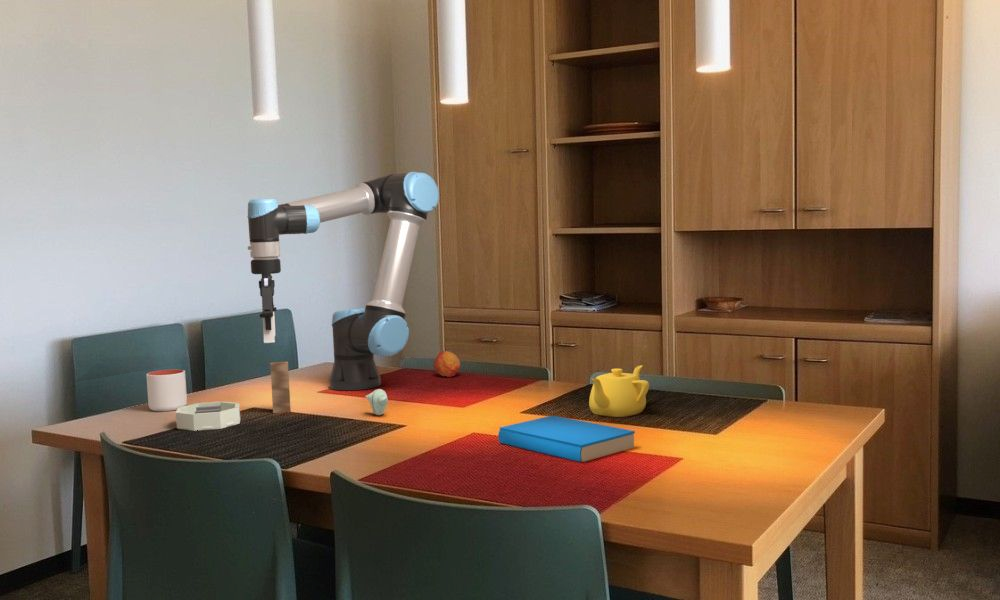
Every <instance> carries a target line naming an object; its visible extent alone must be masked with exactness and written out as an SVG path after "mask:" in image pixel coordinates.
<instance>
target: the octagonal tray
mask: <svg viewBox="0 0 1000 600" xmlns="http://www.w3.org/2000/svg"><path fill="white" fill-rule="evenodd" d="M175 418H176V421H175V422H176V429H178V430H184V431H194V432H196V431H197V430H198V431H209V430H211V431H212V430H220V429H224V428H229V427H232V426H233V427H234V426H235V425H238V424H240V423H241V408H240V402H234V401H233V402H231V401H220V400H219V401H209V402H207V401H206V402H196V403H191V404H189V405H186V406H183V407H179V408H178V409H177V410H175ZM198 431H197V432H198Z"/></svg>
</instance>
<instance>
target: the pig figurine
mask: <svg viewBox="0 0 1000 600" xmlns="http://www.w3.org/2000/svg"><path fill="white" fill-rule="evenodd" d="M365 398H366V399H367V400H368V402H369V404H370V408H371V410H372V412H373V413H374V414H375V415H376V416H381V415H383V413H384V412H385V410H386V408H387V405H388V402H389V400H388V395H387V393H386V391H385V390H384V389H382V388H378V389H375V390H373V391H372V392H371V393H369V394H367V395H365Z"/></svg>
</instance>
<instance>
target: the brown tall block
mask: <svg viewBox="0 0 1000 600" xmlns="http://www.w3.org/2000/svg"><path fill="white" fill-rule="evenodd" d="M269 364H270V367H269V368H270V379H271V382H270V383H271V398H272V399H271V400H272V414H281V413H291V392H290V391H291V390H290V374H289V362H288V361H277V362H270V363H269Z"/></svg>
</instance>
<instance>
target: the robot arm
mask: <svg viewBox="0 0 1000 600" xmlns="http://www.w3.org/2000/svg"><path fill="white" fill-rule="evenodd" d="M439 200H440V191H439V188H438V185H437V184H436V181H435V180H434V179H433V177H432V176H431V175H429V174H427V173H425V172H417V171H410V172H405V173H404V172H403V173H402V172H401V173H391V174H386V175H383V176H380V177H377V178H374V179H371V180H368V181H364V182H359V183H358V184H356V185H355V187H353V188H348V189H344V190H340V191H335V192H331V193H325V194H321V195H317V196H316V195H315V196H313V197H308V198H304V199H299V200H298V199H297V200H293V201H291V202H285V203H281V204H278V201H277V199H275V198H254V199H253V198H252V199H250V200H249V201H248V203H247V219H248V234H249V245H248V246H247V250H248V251H250V254H249V255H250V257H251V258H252V259H251V261H250V270H251V271H250V272H251V274H253V275H261V278H260V280H258V288H259V291H260V292H259V295H260V296H261V305H262V306H261V307H262V309H261V310H262V312H261V313H259V318H260V319H261V318H262V332H263V343H264V344H271V343H275V342H276V339H275V337H276V322H275V321H276V320H275V317H276V316H275V312H277V307H276V306H275V304H274V298H273V297H274V295H275V279H273V276H272V275H273V274H274V275H275V274H280V273H281V271H282V269H281V267H282V266H281V260H280V258H279V257H280V256H281V249H280V248H281V245H280V235H303V234H305V235H307V234H313V233H316V232H317V231H318V230H319V228H320V224H321V223H324V222H329V221H333V220H337V219H341V218H346V217H350V216H354V215H358V214H363V215H365V216H368V215H372V214H373V215H374V214H386V215H387V216H388V218H389V219H390V221H389V227H388V231H387V235H386V239H385V244H384V248H383V253H382V256H381V261H380V265H379V269H378V270H379V271H378V274H377V278H376V283H375V288H374V291H373V296H372V300H371V301H369V302H367V303H366V305H365V307H361V308H354V309H353V308H352V309H345V310H338V311H335V312H334V313H333V314H332V319H331V326H332V340H333V341H332V342H333V357H334V358H333V361H334V362H333V366H332V368H331V369H332V370H331V373H330V377H329V382H328V383H329V389H332V390H334V391H335V390H336V391H361V390H367V389H369V390H370V389H373V388H378V387H380V386H381V385H382V381H381V380H382V379H381V374H380V373H379V370H378V367H377V363H376V362H375V358H374V356H377V357H392V356H394V355H397V354H398V353H400V352H401V351H402V350H403V349H404V348H405V347H406V345H407V343H408V340H409V337H410V328H409V326H408V322H407V321H406V320H405V319H406V311H405V310H404V308H403V303H404V298H405V293H406V289H407V285H408V280H409V275H410V272H411V267H412V262H413V257H414V253H415V248H416V244H417V240H418V236H419V230H420V227H421V226H423V225H424V224H426V222H427V218H428V214H429V213H430V212H432V211H433V210H434V209H436V208H437V206H438V204H439Z"/></svg>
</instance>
